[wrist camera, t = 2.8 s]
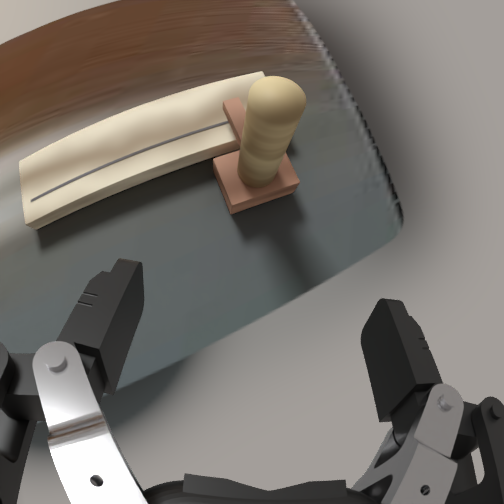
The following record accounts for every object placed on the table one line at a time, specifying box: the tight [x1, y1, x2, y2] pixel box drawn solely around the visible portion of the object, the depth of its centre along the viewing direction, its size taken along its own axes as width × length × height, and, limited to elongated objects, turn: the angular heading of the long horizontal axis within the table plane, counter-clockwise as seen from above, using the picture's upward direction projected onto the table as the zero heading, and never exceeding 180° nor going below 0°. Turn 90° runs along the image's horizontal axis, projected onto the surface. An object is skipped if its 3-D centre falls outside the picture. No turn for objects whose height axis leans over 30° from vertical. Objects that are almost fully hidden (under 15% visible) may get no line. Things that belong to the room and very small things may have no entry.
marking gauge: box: [213, 76, 306, 214], centre depth 22 cm, size 8×6×12 cm
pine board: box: [19, 72, 265, 230], centre depth 27 cm, size 7×26×2 cm, turn 112°
